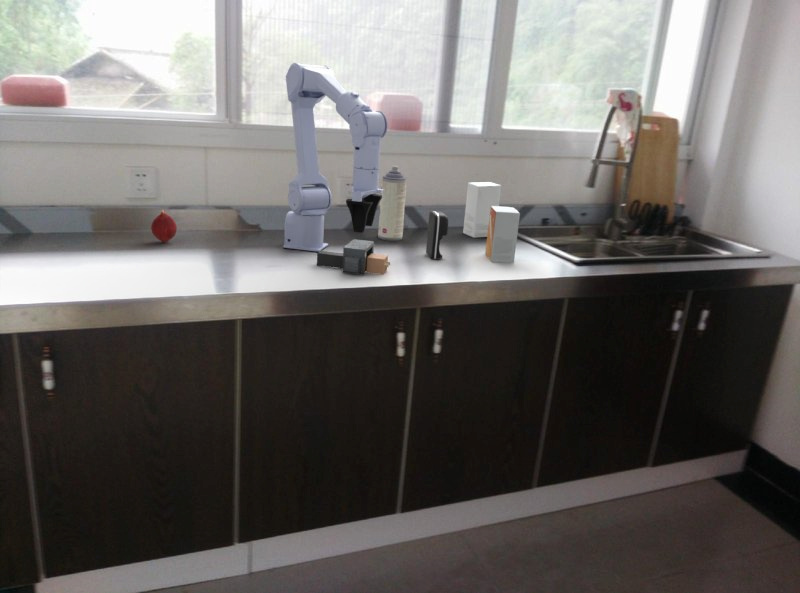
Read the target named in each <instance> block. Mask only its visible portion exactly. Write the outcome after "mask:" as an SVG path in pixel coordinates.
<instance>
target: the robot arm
mask: <svg viewBox="0 0 800 593" xmlns="http://www.w3.org/2000/svg"><path fill="white" fill-rule="evenodd" d="M286 72H287V73H286V75H285V83H286V84H285V85H286V92H287V100H288V102H290V105H291V115H292V125H293V136H294V138H293V139H294V147H295V157H296V166H297V175H295V177H293V178H292V179H291V180H290V181H289V183H288V189H289V190H288V197H287V199H288V200H287V203H288V205H289V207H290V209H291V210H290V211H288V212H287V213H286V215H285V219H284V245H283V248H285V249H290V250H291V249H293V250H301V251H309V252H317V253H318V252H319V251H323V249H325V248H327V246H329V243H327V242H324V228H325V214H327V213H328V210H329V209H330V208H331V206H332V203H333V195H332V192H331V190H330V184H329V180H328V179H327V178H326V177H325V176H323V174H322V173H320V166H319V157H318V148H317V147H318V145H317V144H318V143H317V136H316V134H317V133H316V127H315V125H316V124H315V116H314V107H315V105H316V104H319V103H321V102H322V101H323V99H324V98H325V97H327V98H329V100H331V101H332V102H333V103H334V104H335V109H336V113H337V114H338V115H339V116H340V117H341V118H342V119H343V120H344V121H345V122H346V123H347V124H348V125H349V132H350V134H351V144H352V146H353V165H352V166H353V167H352V186H351V188H350V190H351V198H347V199H346V200H345V204H346V206H347V208H348V210H349V213H350V216H351V223H352V228H353V232H354V233H360V234H361V233H362V234H363V233H364V232H365V229H366V227H372V226H373V223H374V219H375V216H376V213H377V209H378V206H379V204H380V200H381V199H382V195H381V193H383V189H381V188H379V181H380V180H379V179H380V178H379V177H380V176H379V175H380V162H381V161H380V160H381V145H382V143H381V142H382V139H383V138H384V137H385V136H386V134H387V131H388V120H387V116H386V115H385V113H384V112H383V111H381V110H376V111H375V110H372V108H371V106H370V105H369V104H368V103H367V104H366V103H365V102H364V100H362V98H360V94H359V93H358V92H357V91H346V89H345V88H344V87H343V86H342V85H341V83H339V81H338V79H336V76H335V71H334V70H332V69H331V67H330V66H327V65H317V64H316V65H313V64H305V63H304V64H303V63H298V62H293V63H292V64H290V66H289V68H288V70H287V71H286Z"/></svg>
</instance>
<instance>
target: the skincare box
mask: <svg viewBox="0 0 800 593" xmlns="http://www.w3.org/2000/svg"><path fill="white" fill-rule="evenodd" d="M501 193H502V184H498V183H494V182H491V181H485V182H484V181H483V182H482V181H481V182H480V181H479V182H474V181H473V182H467V190H466V200H465V201H466V202H465V209H464V210H465V211H464V220H463V221H464V222H463V229H462V230H463V231H462V232H463V234H465V235H466V236H469V237H472V238H487V234H488V226H489V217H490V208H491V206H500V202H501V201H500V200H501Z"/></svg>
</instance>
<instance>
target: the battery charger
mask: <svg viewBox="0 0 800 593" xmlns="http://www.w3.org/2000/svg"><path fill="white" fill-rule="evenodd" d="M448 232H449V218H448V215H446V214H445V213H444V212H442V211H435V210H433V211H430V212H429V214H428V224H427V235H426V247H425V252H426V254H427V256H428V257H430V259H432V260H436V259H437V260H441V259H443V255H442V254H441V251H440V243H441V240H442V239H443V237H444V236H445V237H446V236H448Z"/></svg>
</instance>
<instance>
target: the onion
mask: <svg viewBox="0 0 800 593" xmlns="http://www.w3.org/2000/svg"><path fill="white" fill-rule="evenodd" d="M177 226H178V225H177V224H176V222H175V220H174V218H172V217H171V216H170V215H169V214H167V213H166V211H165V210H163V209H162V210H161V212H160V214H159V215H157V216H156V217H155V218H154V219H153V220H152V222H151V227H150V230H151V233H152V234H153V236H154V237H155V238H156V239H157V240H159V242H161V243H163V244H166V243H168V242H169V241H170V240H172V239H173V238H174V237H175V235H176V234H177V228H178V227H177Z"/></svg>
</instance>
